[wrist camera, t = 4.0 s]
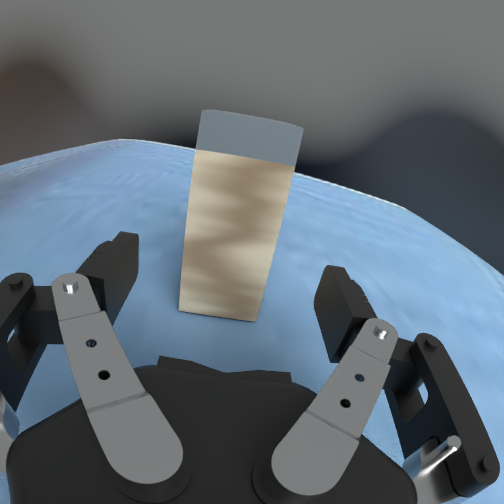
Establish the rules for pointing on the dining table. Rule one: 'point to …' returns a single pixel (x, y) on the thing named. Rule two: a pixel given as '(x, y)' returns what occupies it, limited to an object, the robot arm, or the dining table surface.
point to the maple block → (235, 212)
